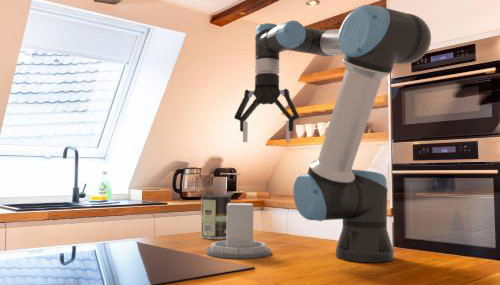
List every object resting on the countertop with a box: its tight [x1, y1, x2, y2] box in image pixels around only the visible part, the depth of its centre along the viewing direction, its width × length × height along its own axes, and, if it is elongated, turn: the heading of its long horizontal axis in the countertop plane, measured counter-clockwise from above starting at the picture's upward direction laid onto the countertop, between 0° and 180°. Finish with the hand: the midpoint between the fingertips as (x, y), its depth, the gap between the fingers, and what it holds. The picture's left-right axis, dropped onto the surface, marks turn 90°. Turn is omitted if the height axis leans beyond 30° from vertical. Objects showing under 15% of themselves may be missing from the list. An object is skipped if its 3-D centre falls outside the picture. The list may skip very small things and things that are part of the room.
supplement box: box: [226, 202, 254, 248], centre depth 137 cm, size 7×7×13 cm
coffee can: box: [200, 194, 232, 240], centre depth 168 cm, size 10×10×14 cm
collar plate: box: [205, 239, 272, 260], centre depth 137 cm, size 18×18×2 cm
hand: (266, 142), depth 153 cm, fingers open, 13 cm apart
